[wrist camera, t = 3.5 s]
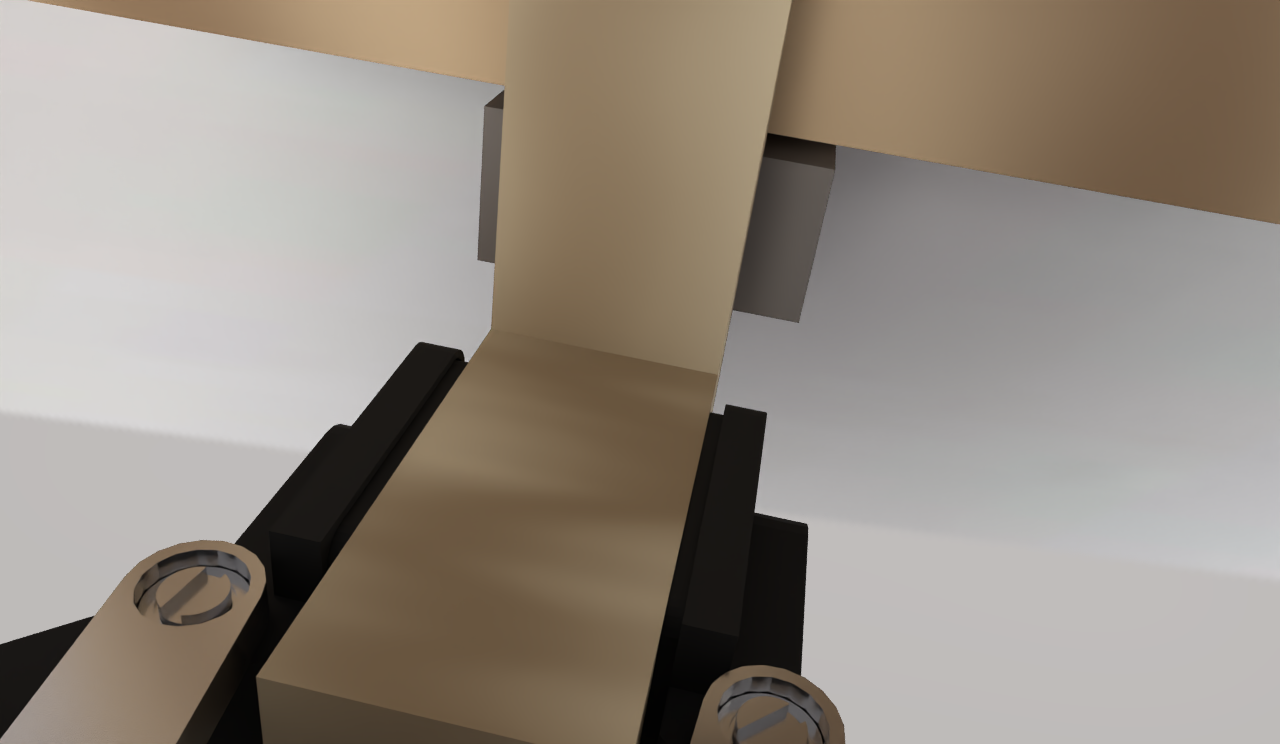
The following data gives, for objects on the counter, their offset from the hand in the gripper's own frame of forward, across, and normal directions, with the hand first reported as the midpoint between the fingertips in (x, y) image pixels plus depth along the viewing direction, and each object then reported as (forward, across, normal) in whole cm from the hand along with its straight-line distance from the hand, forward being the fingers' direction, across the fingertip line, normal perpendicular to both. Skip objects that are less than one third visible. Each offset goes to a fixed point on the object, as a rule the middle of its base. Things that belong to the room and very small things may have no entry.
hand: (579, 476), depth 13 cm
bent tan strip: (+3, 0, -3) cm, 4 cm away
